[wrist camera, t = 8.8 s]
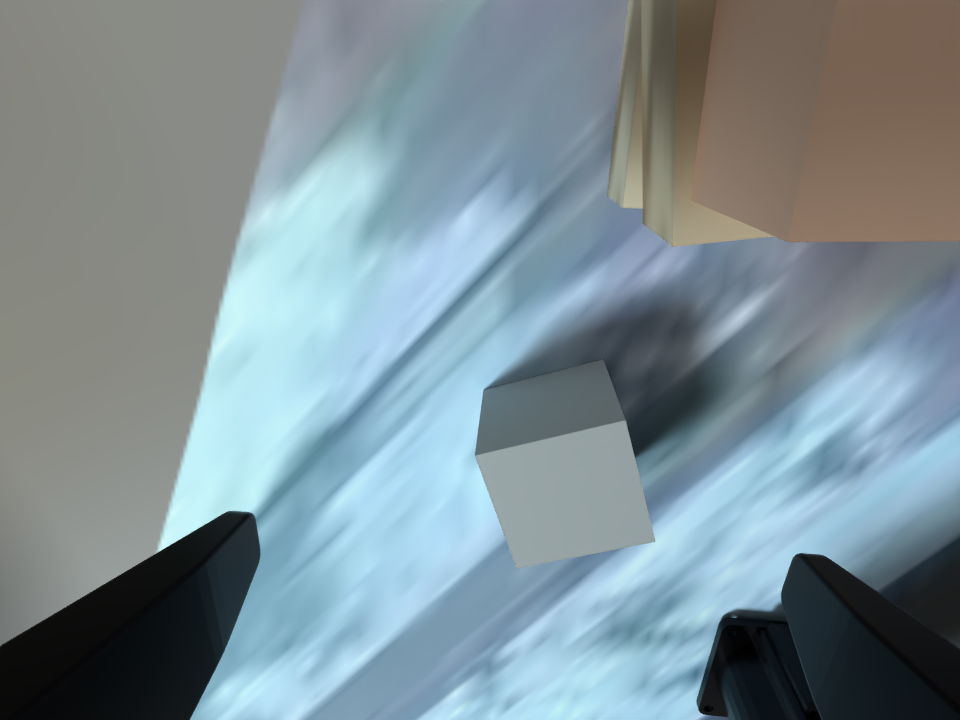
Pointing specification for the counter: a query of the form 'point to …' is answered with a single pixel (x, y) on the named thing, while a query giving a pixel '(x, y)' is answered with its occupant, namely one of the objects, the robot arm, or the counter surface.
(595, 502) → the grey block
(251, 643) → the counter surface
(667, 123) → the beige squat block
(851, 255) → the counter surface
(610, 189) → the olive tan squat block
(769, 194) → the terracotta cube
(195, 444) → the counter surface
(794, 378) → the counter surface
